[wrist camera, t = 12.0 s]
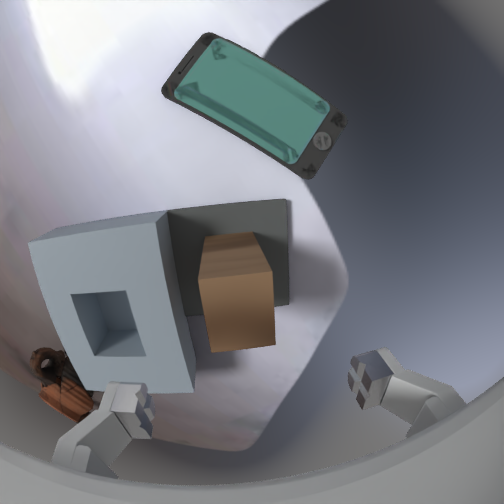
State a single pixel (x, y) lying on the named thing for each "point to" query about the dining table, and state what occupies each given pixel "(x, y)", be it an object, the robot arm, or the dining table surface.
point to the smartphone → (256, 103)
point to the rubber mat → (227, 222)
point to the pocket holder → (117, 302)
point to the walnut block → (236, 293)
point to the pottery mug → (61, 384)
